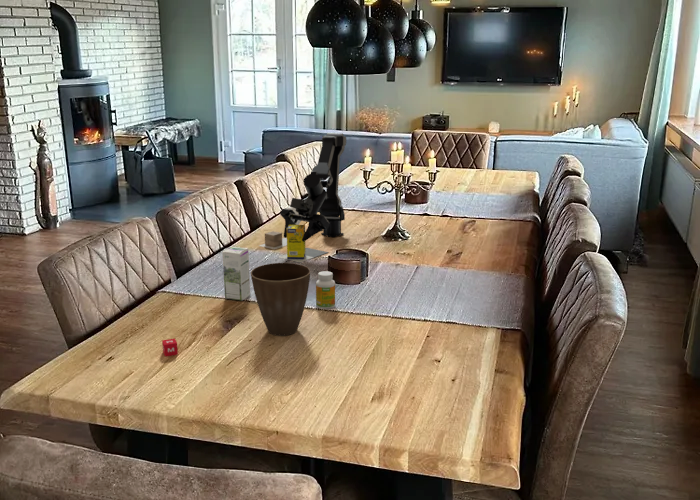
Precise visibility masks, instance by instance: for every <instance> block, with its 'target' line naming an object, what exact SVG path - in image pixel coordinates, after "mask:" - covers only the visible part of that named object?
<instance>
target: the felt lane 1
mask: <svg viewBox="0 0 700 500" xmlns="http://www.w3.org/2000/svg"><path fill="white" fill-rule="evenodd" d="M258 247H263V248H267V249H271V250H276V249H280V248H283V247H287V237H286V238H284V237H282V245H280V246H277V247H270V246H266V245H265V243H263V244H260V245H258Z"/></svg>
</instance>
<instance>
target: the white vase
mask: <svg viewBox="0 0 700 500" xmlns="http://www.w3.org/2000/svg"><path fill="white" fill-rule="evenodd" d="M286 209H291V210H293V211H294V213H295V214H299V213H298V212H296V209H295V208H293V207H290V205H289V206H287V207H286ZM300 223H302V221H300V220H298V221H297V223H295V224H296V225H300Z"/></svg>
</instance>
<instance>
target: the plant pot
mask: <svg viewBox="0 0 700 500" xmlns="http://www.w3.org/2000/svg"><path fill="white" fill-rule="evenodd" d="M250 277H251V283H252V287H253V291H254V295H255V299H256V302H257V306H258V309H259V313H260V315H261V317H262V320H263V323H264V325H265V327H266V330H267V331H268V333H269V334H271V335H273V336H277V337H284V336H285V337H286V336H291V335H293V334H295V333H296V332H297V331H298V328H299V326H300V323H301V320H302V317H303V315H304V314H303V313H304V312H305V311H304V310H305V307H306V302H307V297H308V293H309V288H310V281H311V269H310V268H309V266H306V265H303V264H300V263H296V262H295V263H294V262H293V263H292V262H276V263H275V262H274V263H267V264H262V265H259V266H257V267H255V268H252V270H251V271H250Z"/></svg>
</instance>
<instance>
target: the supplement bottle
mask: <svg viewBox="0 0 700 500" xmlns="http://www.w3.org/2000/svg"><path fill="white" fill-rule="evenodd" d="M333 276H334V274H333V272H331V271H327V270H326V271H320V272H318V273H317V277H318V279H317V280H316V282H315V306H316V307H317V308H318V309H322V310H330V309H333V308H335V306H336V281H335V280H334V279H333Z"/></svg>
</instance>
